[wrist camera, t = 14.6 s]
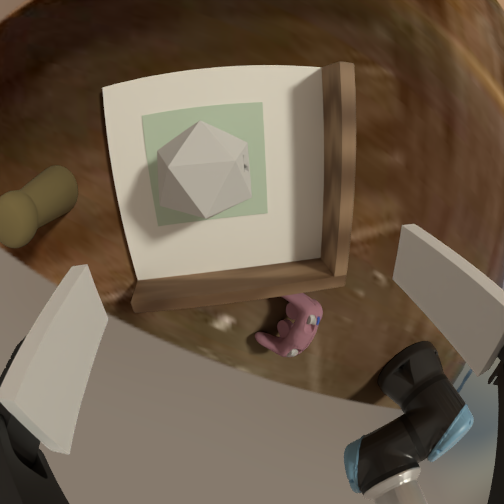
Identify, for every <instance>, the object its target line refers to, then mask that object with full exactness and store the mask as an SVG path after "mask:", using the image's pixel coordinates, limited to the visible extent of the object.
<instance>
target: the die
mask: <svg viewBox="0 0 504 504" xmlns="http://www.w3.org/2000/svg"><path fill="white" fill-rule="evenodd" d="M157 164H158V186H159V202H160V206H162V207H166V208H170V209H173V210H177V211H181V212H184V213H188V214H191V215H195V216H198V217H202V218H205V219H209V218H211V217H213V216H215V215H217V214H219V213H221V212H223V211H225V210H227V209H229V208H231V207H233V206H235V205H237V204H239V203H241V202H243V201H246V200H248V199H250V198H252V191H251V179H250V166H249V154H248V143H247V142H245V141H243V140H241V139H239V138H237V137H235V136H233V135H231V134H229V133H227V132H225V131H222V130H220V129H218V128H216V127H214V126H212V125H209V124H207V123H205V122H203V121H198V122H197V123H195V124H194V125H192V126H191V127H189V128H188V129H186V130H185V131H183V132H182V133H181V134H179V135H178V136H176V137H175V138H174V139H172V140H171V141H169V142H168V143H167V144H165V145H164V146H163V147H161V148H160V149H159V150H157Z"/></svg>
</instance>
